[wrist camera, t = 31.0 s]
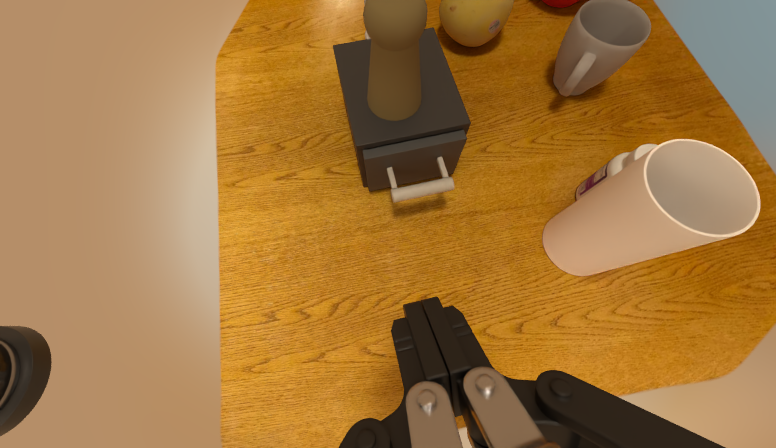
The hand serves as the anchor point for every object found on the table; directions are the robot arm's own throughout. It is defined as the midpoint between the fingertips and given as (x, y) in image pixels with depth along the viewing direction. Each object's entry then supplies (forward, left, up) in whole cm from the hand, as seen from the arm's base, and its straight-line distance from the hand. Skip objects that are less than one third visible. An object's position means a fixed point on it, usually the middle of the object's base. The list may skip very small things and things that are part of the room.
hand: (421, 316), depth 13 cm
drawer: (+5, +21, -22) cm, 31 cm away
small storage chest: (+5, +25, -23) cm, 35 cm away
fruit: (+21, +41, -23) cm, 52 cm away
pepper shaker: (+5, +23, -14) cm, 27 cm away
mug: (+32, +27, -23) cm, 48 cm away
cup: (+23, +4, -23) cm, 33 cm away
